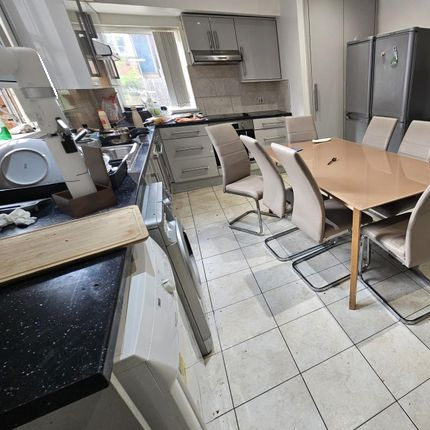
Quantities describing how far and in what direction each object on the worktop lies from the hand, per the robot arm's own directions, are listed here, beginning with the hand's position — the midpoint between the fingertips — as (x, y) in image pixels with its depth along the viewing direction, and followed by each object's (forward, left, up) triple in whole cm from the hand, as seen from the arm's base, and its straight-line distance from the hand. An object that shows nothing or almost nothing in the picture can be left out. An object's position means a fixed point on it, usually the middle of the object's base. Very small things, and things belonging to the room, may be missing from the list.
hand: (66, 151), depth 91 cm
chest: (-1, 0, -21) cm, 21 cm away
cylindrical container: (0, 0, -20) cm, 20 cm away
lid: (+4, +5, -7) cm, 9 cm away
